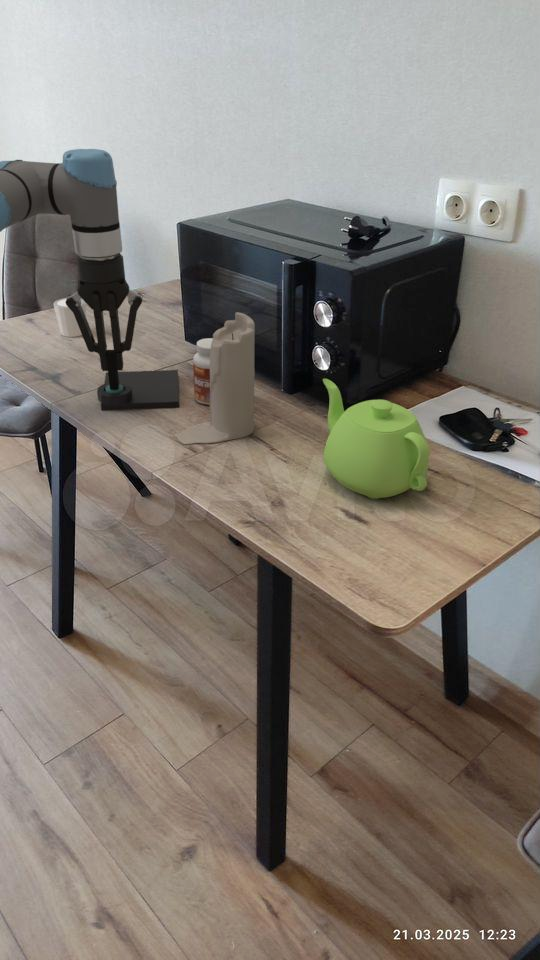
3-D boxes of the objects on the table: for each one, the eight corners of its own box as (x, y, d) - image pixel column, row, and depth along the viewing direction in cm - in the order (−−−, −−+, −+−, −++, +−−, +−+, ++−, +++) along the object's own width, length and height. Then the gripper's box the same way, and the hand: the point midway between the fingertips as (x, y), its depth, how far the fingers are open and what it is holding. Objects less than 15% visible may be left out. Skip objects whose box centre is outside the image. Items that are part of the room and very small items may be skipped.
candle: (170, 430, 121) (162, 319, 110) (243, 416, 126) (243, 307, 115) (184, 450, 116) (177, 334, 105) (260, 434, 121) (262, 322, 110)
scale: (97, 412, 126) (95, 397, 125) (103, 377, 138) (102, 363, 137) (179, 408, 128) (178, 393, 126) (178, 375, 140) (177, 361, 138)
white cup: (53, 336, 156) (48, 306, 152) (64, 325, 161) (60, 296, 158) (82, 339, 155) (78, 308, 151) (93, 327, 161) (89, 298, 157)
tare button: (105, 400, 127) (104, 391, 126) (107, 392, 130) (105, 383, 129) (123, 399, 127) (122, 390, 126) (124, 391, 130) (123, 383, 129)
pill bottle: (189, 403, 130) (187, 347, 124) (200, 389, 135) (198, 334, 129) (221, 408, 129) (220, 351, 122) (231, 393, 134) (231, 338, 127)
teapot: (286, 461, 113) (288, 387, 106) (352, 433, 121) (358, 363, 114) (387, 526, 99) (398, 445, 92) (454, 489, 107) (469, 413, 100)
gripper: (140, 247, 118) (151, 376, 131) (61, 249, 117) (80, 378, 130) (139, 260, 112) (150, 393, 125) (55, 261, 111) (75, 396, 123)
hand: (114, 386), depth 127 cm, fingers closed
